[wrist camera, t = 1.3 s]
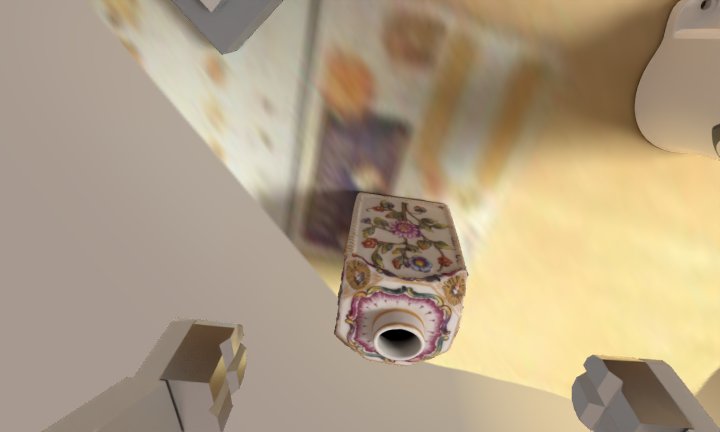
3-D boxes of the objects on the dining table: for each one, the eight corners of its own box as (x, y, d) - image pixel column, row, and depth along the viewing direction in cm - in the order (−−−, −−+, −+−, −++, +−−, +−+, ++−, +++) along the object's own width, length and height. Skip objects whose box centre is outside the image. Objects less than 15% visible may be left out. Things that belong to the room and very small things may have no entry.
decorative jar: (450, 202, 45) (483, 306, 30) (429, 275, 51) (447, 394, 36) (354, 188, 45) (337, 285, 30) (344, 263, 51) (325, 377, 35)
